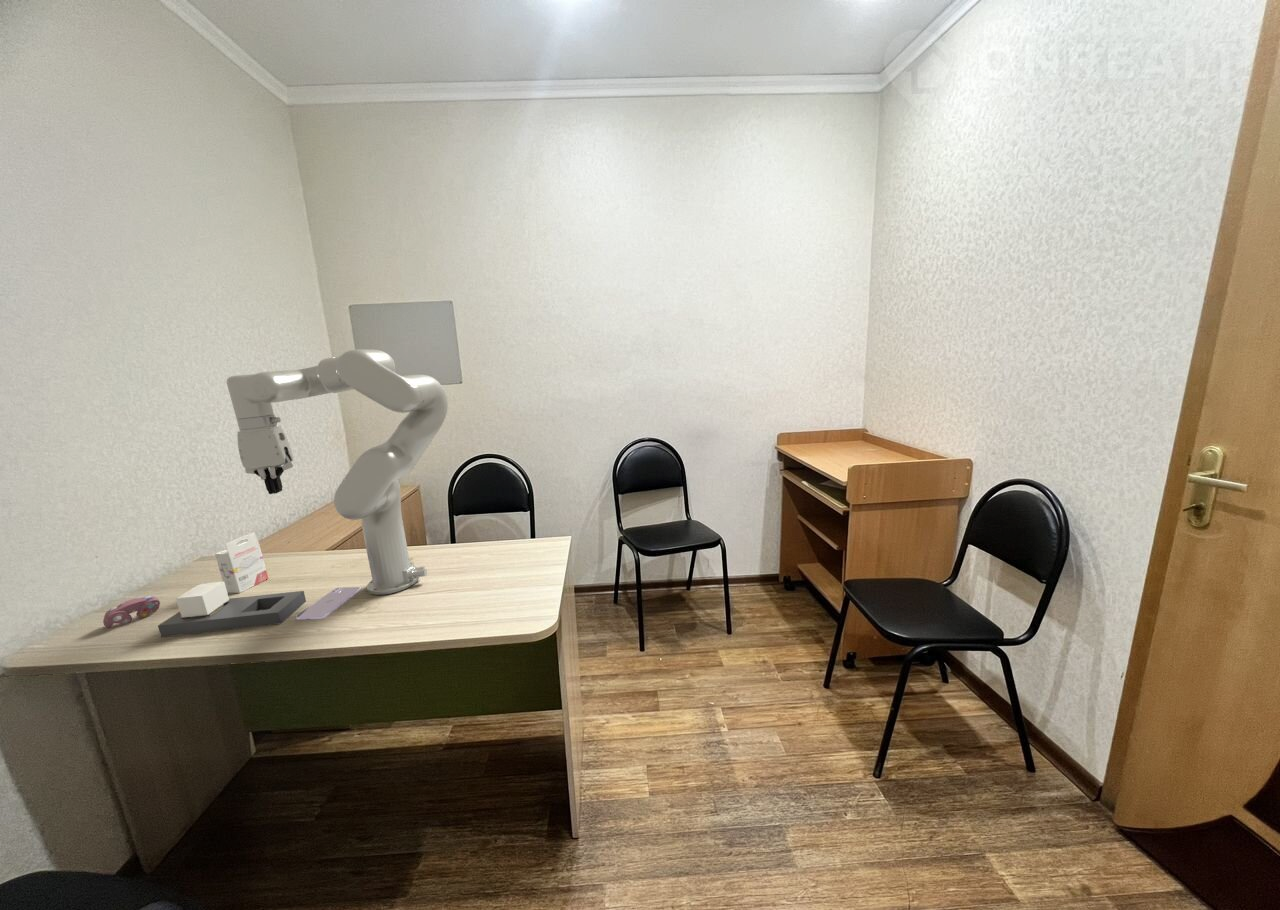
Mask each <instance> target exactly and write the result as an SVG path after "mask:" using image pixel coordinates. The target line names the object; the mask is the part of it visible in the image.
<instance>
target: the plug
mask: <svg viewBox="0 0 1280 910" xmlns="http://www.w3.org/2000/svg"><path fill="white" fill-rule="evenodd" d="M229 599H230V597H229V593H227V590H226V586H225V583H224V582H223V581H217V582H207V583H206V582H205V583H199V584H198V585H196V586H194V587H193V588H191V589H189V590H188V591H186V592H184V593H182V594H181V595H179V596H177V597H176V604H177V607H178V610H179V611H180V614H181V617H182V618H184V617H190V618H196V617H205V616H211V615H212V614H213V613H215V612H216V611H218V610H219V609H221V608H222V607H223V606H224V605H223V604H224V603H225V602H227V601H228V600H229Z"/></svg>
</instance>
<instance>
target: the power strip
mask: <svg viewBox="0 0 1280 910" xmlns="http://www.w3.org/2000/svg"><path fill="white" fill-rule="evenodd" d="M306 602H307V600H306V595H305V591H304V590H299V591H289V592H280V593H271V594H262V595H261V594H258V595H251V596H240V597H233V598H232V597H230V598H229V600H228V601H227V602H225V603H224V604H223V605H224V606H223V607H222V608H221V609H219V610H218V611H216V612H215V613H213V614H212V615H211V616H205V617H196V618H190V617H184V618H182V617H181V614H180V610H179V611H178V612H176V613H175V614H174V615H172V616H171V617H169V618H167V619H166V620H164V621H163V622H161V623H160V624H157V629H158V632H159V634H160V638H166V637H174V636H183V635H184V636H185V635H192V634H202V633H211V632H212V633H213V632H220V631H229V630H237V629H238V630H239V629H247V628H256V627H263V626H271V625H272V626H273V625H282V624H283V622H285V621H286V620H287V619H288V618H289V617H291V615H293V614H294V613H295V612H296V611H297V610H298V609H299V608H301V606H303V605H304V604H305V603H306Z"/></svg>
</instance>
